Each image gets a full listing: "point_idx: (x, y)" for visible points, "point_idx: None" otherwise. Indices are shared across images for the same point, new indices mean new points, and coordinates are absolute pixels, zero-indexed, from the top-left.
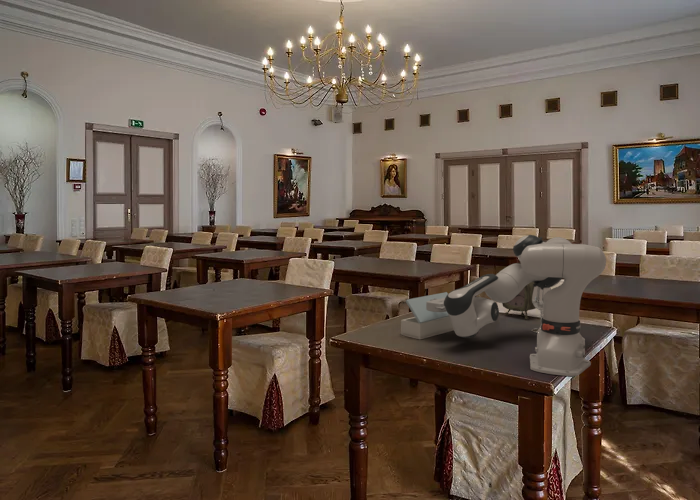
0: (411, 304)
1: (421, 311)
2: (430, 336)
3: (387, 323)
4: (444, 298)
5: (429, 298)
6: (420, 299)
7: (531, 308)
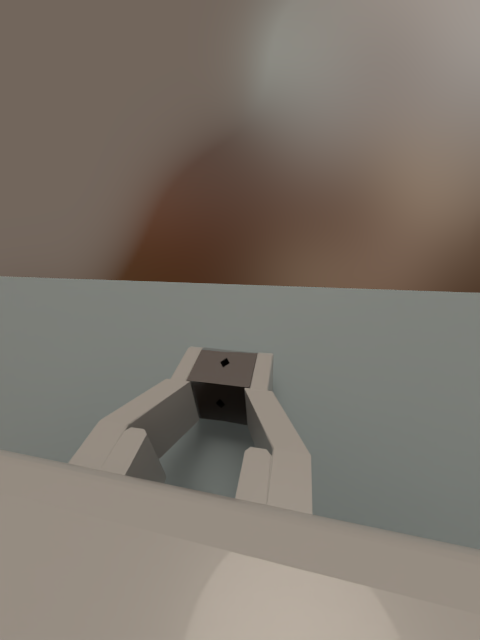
0: (4, 326)
1: (37, 418)
2: None
3: None
4: (116, 595)
5: (243, 319)
6: (126, 304)
7: None
